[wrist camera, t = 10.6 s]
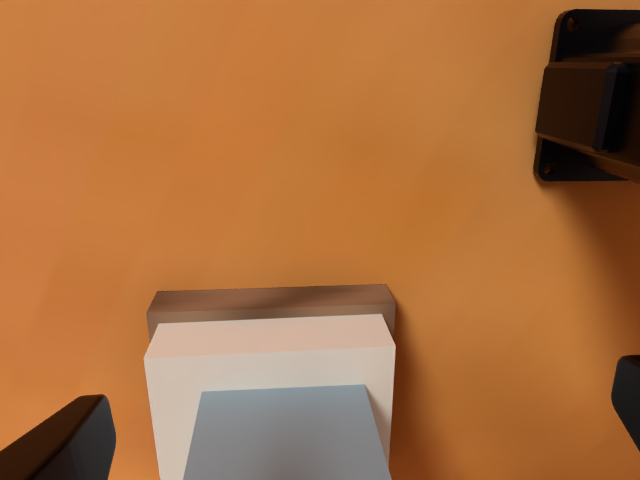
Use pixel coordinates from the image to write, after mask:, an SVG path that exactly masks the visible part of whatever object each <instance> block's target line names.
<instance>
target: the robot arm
mask: <svg viewBox="0 0 640 480" xmlns="http://www.w3.org/2000/svg"><path fill="white" fill-rule="evenodd" d="M570 18H572V19H573V21H574V26H573V28H572V29H571V30H568V28H567V22H568V20H569V19H570ZM535 131H536V133H537V134H538V140H537V147H536V154H535V160H534V167H533V170H534V174H535V176H536V177H538V178H539V179H541V180H543V181H616V180H631V181H634V182H637V183H640V10H598V9H574V10H568V11H564V12H563V13H561V14H560V15H559V16H558V18H557V19H556V23H555V27H554V34H553V40H552V47H551V54H550V60H549V64H548V65H547V67H546V68H545V69H544V75H543V82H542V88H541V95H540V102H539V109H538V115H537V122H536V129H535ZM547 164H551V168H550V171H548V172H547V173H544V168H545V166H546V165H547ZM611 399H612V404H613V406H614V409H615V411H616V412H617V414H618V416H619V417H620V419H621V421H622V423H623V424H624V426H625V428H626V429H627V431H628V433H629V434H630V436H631V438H632V439H633V441H634V443H635V444H636V446H637V448H638V450H639V451H640V355H627V356H623V357H621V358H620V359H619V360H618V363H617V367H616V372H615V377H614V382H613V387H612V392H611ZM115 447H116V432H115V427H114V423H113V418H112V414H111V409H110V404H109V401H108V399H107V397H106V396H105V395H103V394H99V395H85V396H80V397H78V398H76V399H75V400H74V401H72V402H71V403H69V404H68V405H66V406H65V407H63V408H62V409H61V410H59V411H58V412H56V413H55V414H53V415H52V416H50V417H49V418H48V419H46V420H45V421H43V422H42V423H40V424H39V425H38V426H36V427H35V428H33V429H32V430H30V431H29V432H27V433H26V434H25V435H23V436H22V437H20V438H19V439H17V440H16V441H14V442H13V443H12V444H10V445H9V446H7V447H6V448H4V449H3V450H1V451H0V480H108V476H109V472H110V468H111V464H112V459H113V455H114V451H115Z"/></svg>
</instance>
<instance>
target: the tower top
mask: <svg viewBox="0 0 640 480" xmlns="http://www.w3.org/2000/svg"><path fill="white" fill-rule="evenodd" d="M395 350H396V346H395V343H394V341H393V339H392V336H391V334H390V332H389V330H388V327H387V325H386V323H385V320H384V318H383V316H382V314H368V315H344V316H321V317H297V318H275V319H252V320H229V321H206V322H183V323H160V324H158V326H157V329H156V331H155V333H154V336H153V338H152V340H151V343H150V345H149V347H148V350H147V352H146V354H145V357H144V365H145V372H146V379H147V387H148V394H149V401H150V408H151V416H152V423H153V430H154V437H155V445H156V452H157V459H158V466H159V474H160V480H183V477H184V472H185V468H186V463H187V458H188V454H189V449H190V444H191V440H192V435H193V430H194V426H195V421H196V416H197V411H198V407H199V402H200V397H201V393H202V392H204V391H227V390H249V389H272V388H294V387H316V386H339V385H361V384H364V385H365V388H366V392H367V395H368V399H369V402H370V406H371V409H372V413H373V416H374V420H375V423H376V427H377V430H378V434H379V437H380V441H381V444H382V448H383V451H384V455H385V458H386V462H387V465H388V469H389V452H390V435H391V418H392V401H393V384H394V367H395Z"/></svg>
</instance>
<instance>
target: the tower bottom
mask: <svg viewBox="0 0 640 480" xmlns="http://www.w3.org/2000/svg"><path fill="white" fill-rule="evenodd" d="M395 311H396V303H395V301H394V299H393V297H392V295H391V293H390V291H389V289H388V287H387V285H386V284H372V285H341V286H310V287H279V288H247V289H216V290H185V291H157V293H156V295H155V297H154V299H153V301H152V303H151V305H150V307H149V309H148V311H147V313H146V314H147V322H148V330H149V338H150V343H151V340H152V338H153V336H154V333H155V331H156V329H157V326H158V324H160V323H183V322H206V321H229V320H252V319H275V318H297V317H321V316H344V315H368V314H382V316H383V318H384V320H385V323H386V325H387V327H388V330H389V332H390V334H391V336H392V339H393V341H394V327H395Z"/></svg>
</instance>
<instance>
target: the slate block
mask: <svg viewBox="0 0 640 480" xmlns="http://www.w3.org/2000/svg"><path fill="white" fill-rule="evenodd" d="M183 480H392V479H391V476H390V472H389V469H388V465H387V462H386V458H385V455H384V451H383V448H382V444H381V441H380V437H379V434H378V430H377V427H376V423H375V420H374V416H373V413H372V409H371V406H370V402H369V399H368V395H367V392H366V388H365V385H364V384H361V385H339V386H316V387H294V388H272V389H249V390H227V391H204V392H202V393H201V397H200V402H199V407H198V411H197V416H196V421H195V426H194V430H193V435H192V440H191V444H190V449H189V454H188V458H187V463H186V468H185V472H184V477H183Z"/></svg>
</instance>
